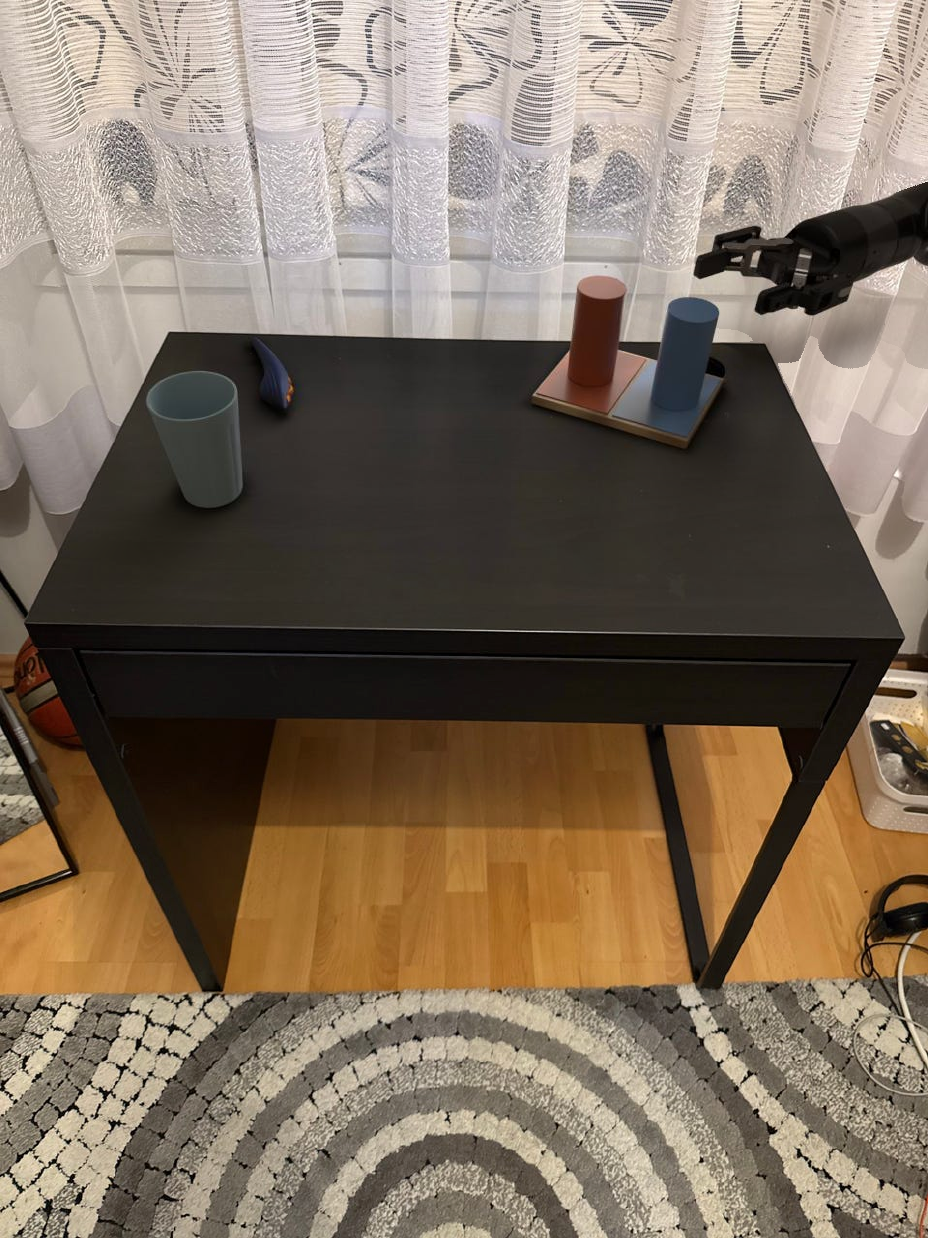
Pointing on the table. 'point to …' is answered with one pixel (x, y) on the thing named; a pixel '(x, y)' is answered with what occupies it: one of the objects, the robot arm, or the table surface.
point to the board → (627, 401)
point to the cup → (200, 434)
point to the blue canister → (684, 353)
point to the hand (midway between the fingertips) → (727, 285)
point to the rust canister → (596, 330)
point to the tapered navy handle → (273, 377)
